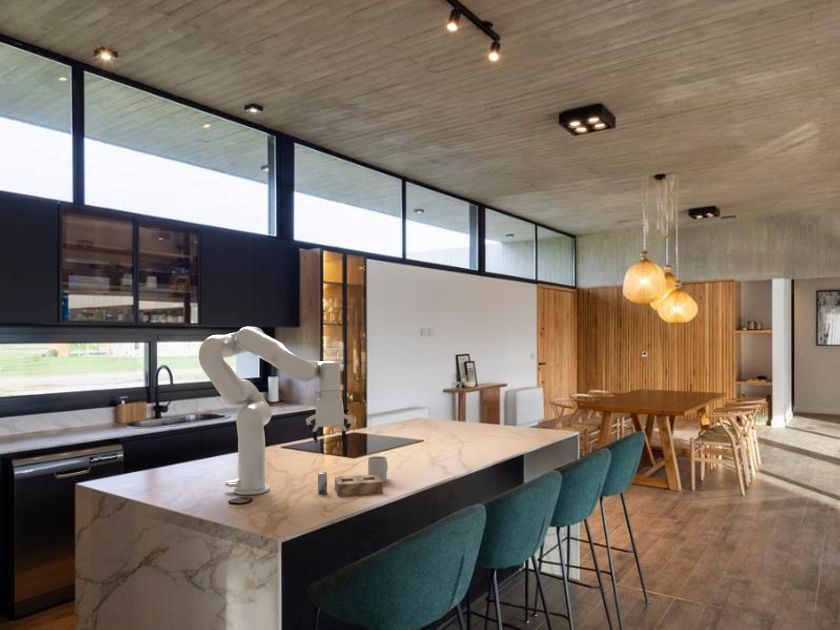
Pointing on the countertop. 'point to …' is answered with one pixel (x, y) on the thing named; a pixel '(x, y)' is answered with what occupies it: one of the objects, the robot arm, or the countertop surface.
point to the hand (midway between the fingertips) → (329, 441)
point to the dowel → (322, 482)
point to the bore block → (358, 485)
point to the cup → (378, 467)
